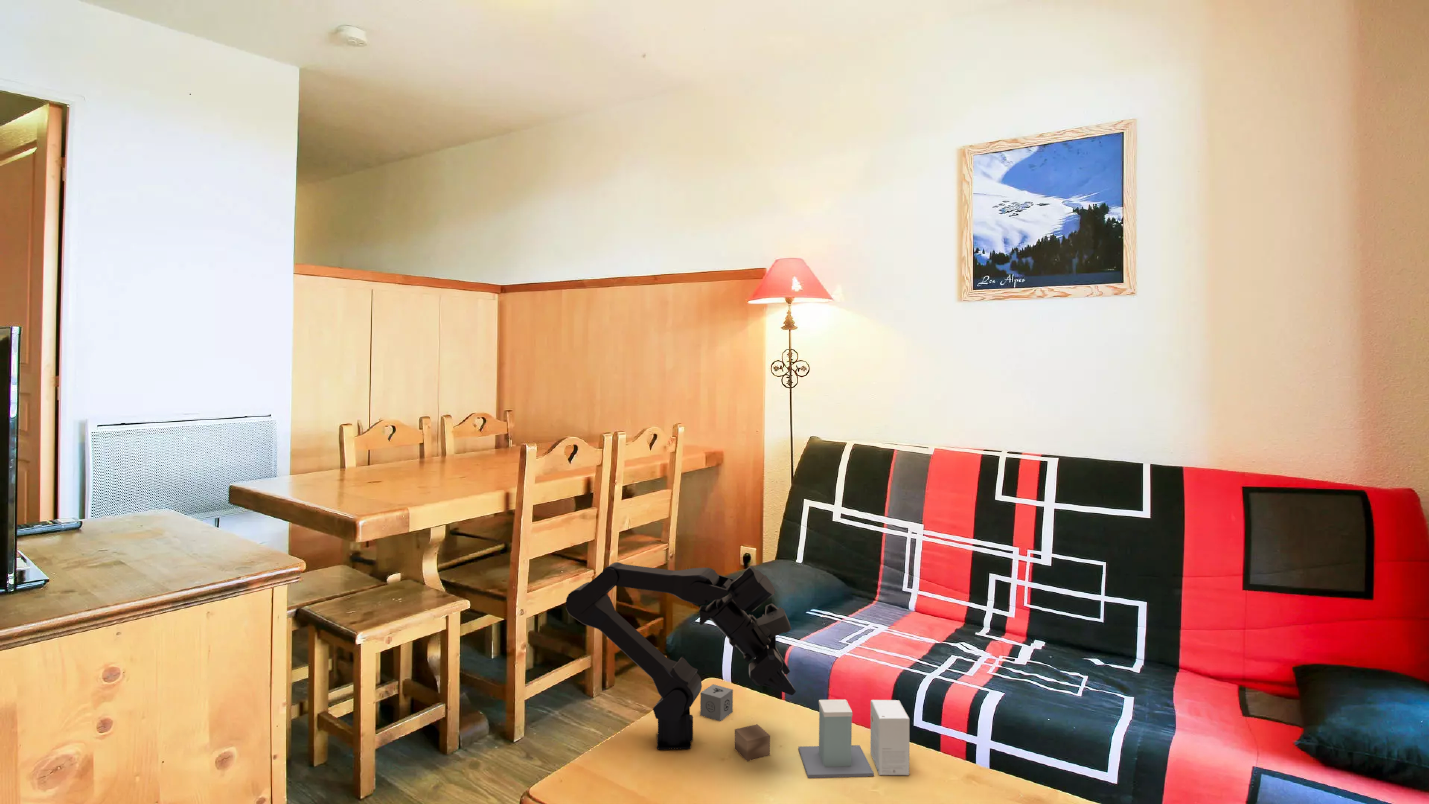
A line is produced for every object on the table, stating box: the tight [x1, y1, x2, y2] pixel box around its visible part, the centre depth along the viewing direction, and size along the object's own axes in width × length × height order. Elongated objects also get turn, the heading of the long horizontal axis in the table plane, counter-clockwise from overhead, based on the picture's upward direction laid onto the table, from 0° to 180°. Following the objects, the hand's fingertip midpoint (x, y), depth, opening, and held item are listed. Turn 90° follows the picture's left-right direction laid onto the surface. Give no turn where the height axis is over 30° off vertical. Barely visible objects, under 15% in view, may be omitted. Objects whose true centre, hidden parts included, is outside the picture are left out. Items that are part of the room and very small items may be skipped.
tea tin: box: [818, 699, 853, 767], centre depth 134 cm, size 5×5×10 cm
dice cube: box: [699, 684, 734, 722], centre depth 154 cm, size 5×5×5 cm
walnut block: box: [734, 723, 771, 762], centre depth 138 cm, size 5×5×4 cm
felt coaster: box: [797, 744, 875, 779], centre depth 134 cm, size 12×10×1 cm
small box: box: [870, 699, 911, 776], centre depth 134 cm, size 8×6×10 cm
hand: (791, 682), depth 139 cm, fingers open, 9 cm apart
